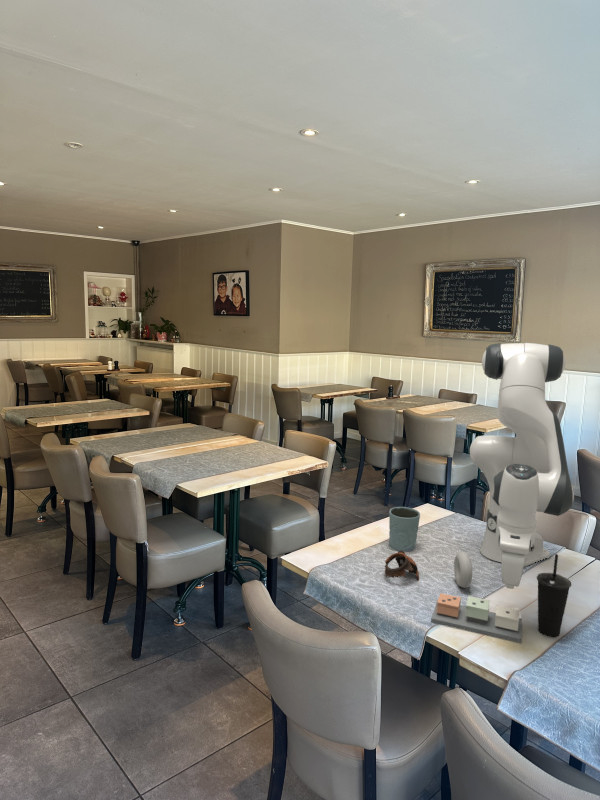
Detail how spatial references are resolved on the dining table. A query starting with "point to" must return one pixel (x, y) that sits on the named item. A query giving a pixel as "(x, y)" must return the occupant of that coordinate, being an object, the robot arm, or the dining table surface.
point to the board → (478, 624)
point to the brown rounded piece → (401, 565)
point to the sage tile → (477, 608)
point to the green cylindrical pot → (403, 528)
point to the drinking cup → (551, 601)
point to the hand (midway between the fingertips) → (510, 586)
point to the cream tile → (507, 618)
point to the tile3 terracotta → (448, 605)
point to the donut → (463, 569)
